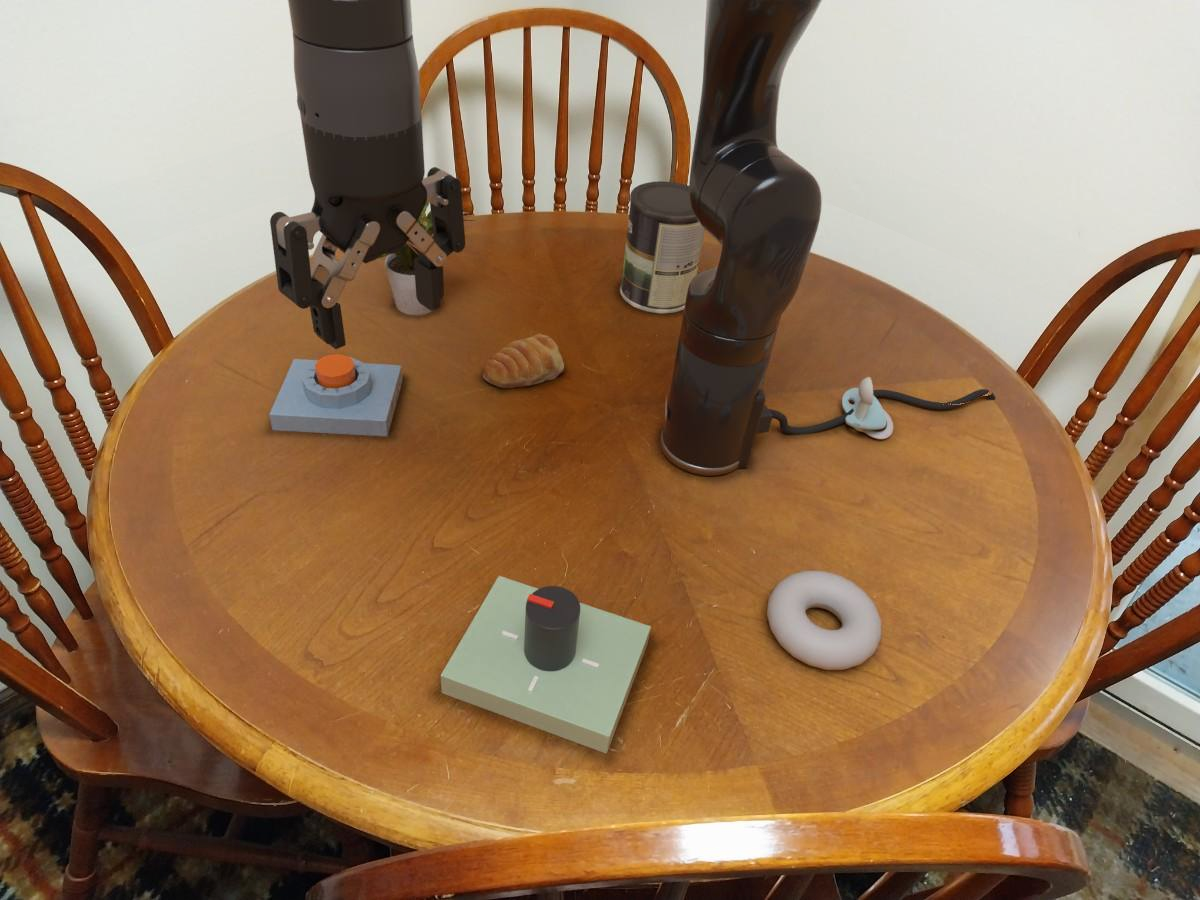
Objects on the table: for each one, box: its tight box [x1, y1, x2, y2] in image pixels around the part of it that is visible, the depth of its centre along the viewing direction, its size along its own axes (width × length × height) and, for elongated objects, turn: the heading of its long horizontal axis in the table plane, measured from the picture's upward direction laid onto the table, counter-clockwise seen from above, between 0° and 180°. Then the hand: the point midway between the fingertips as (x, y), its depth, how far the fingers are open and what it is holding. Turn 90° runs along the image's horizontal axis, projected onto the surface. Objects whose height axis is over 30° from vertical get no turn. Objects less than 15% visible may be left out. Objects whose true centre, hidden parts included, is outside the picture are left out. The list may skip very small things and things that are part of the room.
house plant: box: [374, 201, 476, 316], centre depth 103 cm, size 14×14×16 cm
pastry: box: [482, 333, 565, 389], centre depth 99 cm, size 9×7×4 cm
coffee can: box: [619, 180, 706, 315], centre depth 112 cm, size 10×10×14 cm
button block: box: [268, 356, 404, 437], centre depth 92 cm, size 12×10×4 cm
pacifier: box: [841, 376, 894, 440], centre depth 97 cm, size 7×6×6 cm
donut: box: [766, 570, 882, 671], centre depth 74 cm, size 10×4×10 cm
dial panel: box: [440, 575, 652, 755], centre depth 69 cm, size 14×11×3 cm
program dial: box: [524, 585, 581, 671], centre depth 67 cm, size 4×4×6 cm
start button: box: [315, 353, 356, 389], centre depth 90 cm, size 4×4×2 cm
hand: (383, 323), depth 65 cm, fingers open, 8 cm apart
